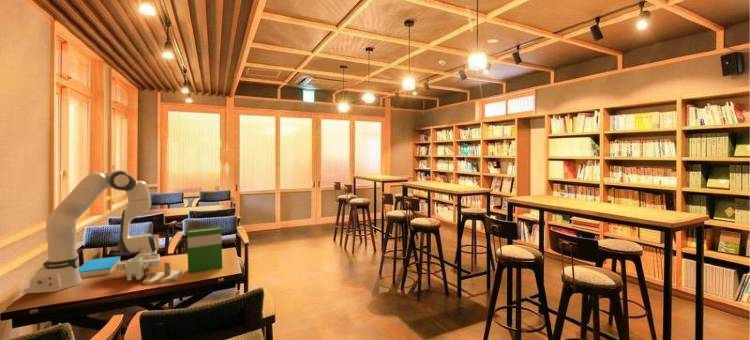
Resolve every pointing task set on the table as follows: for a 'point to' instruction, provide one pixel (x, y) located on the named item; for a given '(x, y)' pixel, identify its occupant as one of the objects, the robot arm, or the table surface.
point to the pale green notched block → (135, 268)
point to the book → (98, 266)
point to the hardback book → (204, 249)
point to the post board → (163, 275)
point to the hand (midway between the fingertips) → (134, 268)
